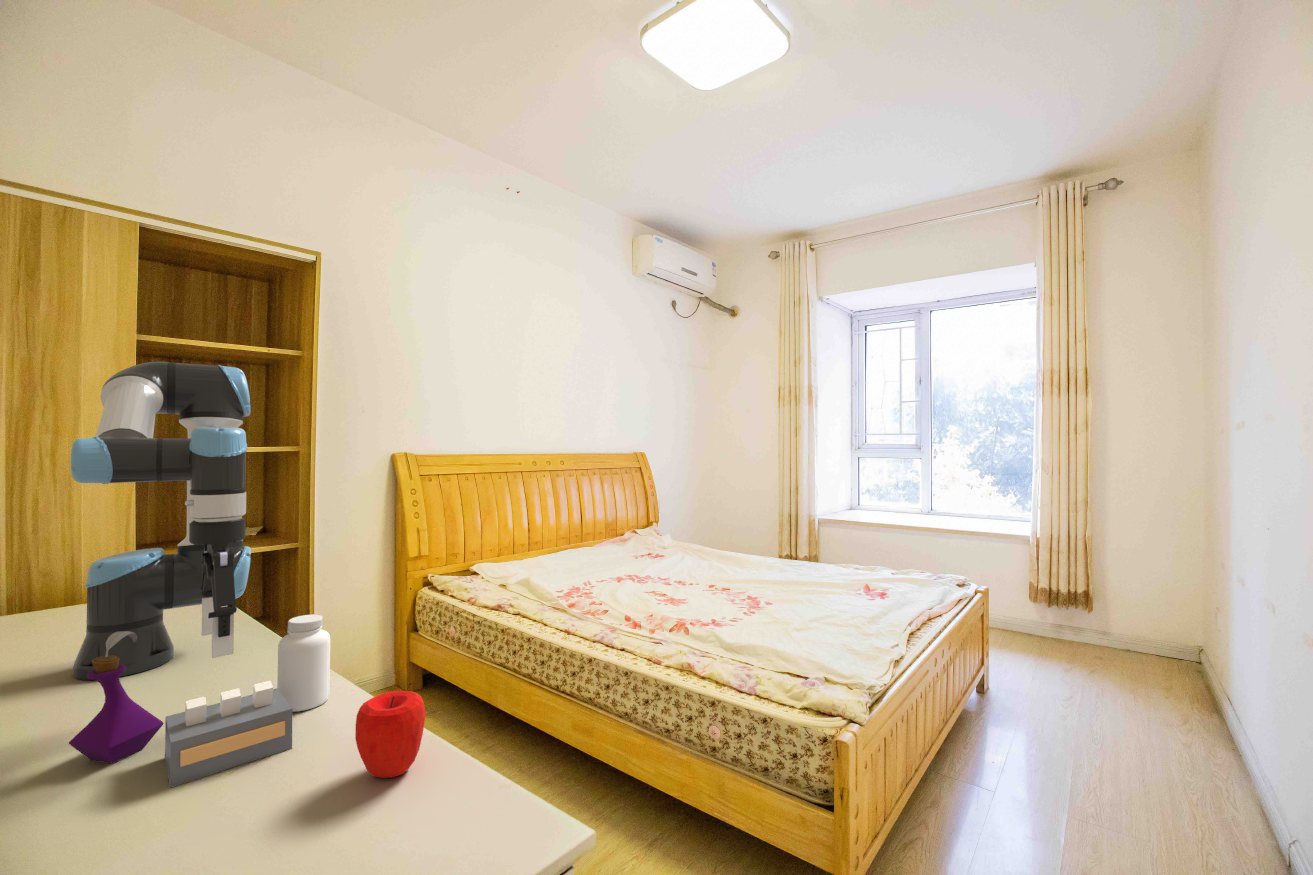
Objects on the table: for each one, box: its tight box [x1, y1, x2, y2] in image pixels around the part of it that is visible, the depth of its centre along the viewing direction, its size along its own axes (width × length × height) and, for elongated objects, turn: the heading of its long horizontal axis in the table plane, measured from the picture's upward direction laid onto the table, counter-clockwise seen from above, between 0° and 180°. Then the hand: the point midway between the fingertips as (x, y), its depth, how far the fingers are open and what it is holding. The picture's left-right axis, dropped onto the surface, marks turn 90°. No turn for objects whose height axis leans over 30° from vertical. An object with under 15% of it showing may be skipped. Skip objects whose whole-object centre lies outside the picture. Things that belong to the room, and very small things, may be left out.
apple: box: [354, 690, 427, 779], centre depth 79 cm, size 9×9×11 cm
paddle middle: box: [219, 687, 242, 717], centre depth 84 cm, size 2×2×3 cm
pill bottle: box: [276, 614, 331, 713], centre depth 100 cm, size 8×8×15 cm
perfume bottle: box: [68, 631, 164, 764], centre depth 84 cm, size 8×8×18 cm
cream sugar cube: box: [252, 680, 274, 708], centre depth 87 cm, size 2×2×3 cm
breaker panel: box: [164, 687, 293, 788], centre depth 84 cm, size 10×14×6 cm
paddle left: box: [184, 696, 208, 727], centre depth 81 cm, size 2×2×3 cm
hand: (216, 644), depth 95 cm, fingers open, 13 cm apart
